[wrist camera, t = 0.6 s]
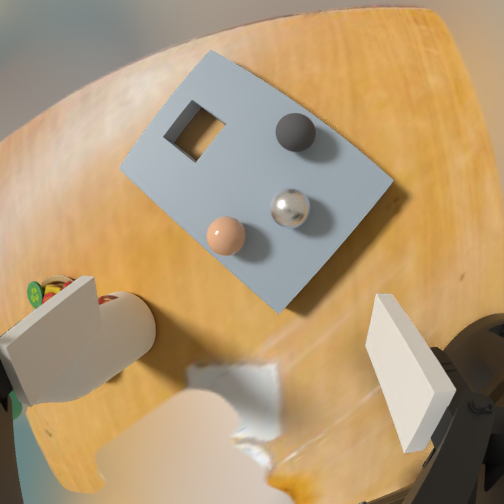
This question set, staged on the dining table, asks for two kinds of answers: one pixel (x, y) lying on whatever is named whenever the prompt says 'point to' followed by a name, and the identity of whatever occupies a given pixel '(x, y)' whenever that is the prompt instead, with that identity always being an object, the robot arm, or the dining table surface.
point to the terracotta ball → (226, 236)
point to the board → (254, 178)
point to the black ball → (295, 132)
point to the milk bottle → (103, 350)
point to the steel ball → (289, 208)
